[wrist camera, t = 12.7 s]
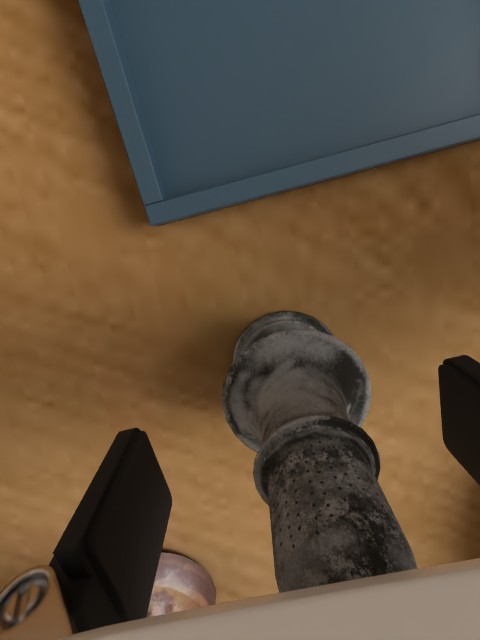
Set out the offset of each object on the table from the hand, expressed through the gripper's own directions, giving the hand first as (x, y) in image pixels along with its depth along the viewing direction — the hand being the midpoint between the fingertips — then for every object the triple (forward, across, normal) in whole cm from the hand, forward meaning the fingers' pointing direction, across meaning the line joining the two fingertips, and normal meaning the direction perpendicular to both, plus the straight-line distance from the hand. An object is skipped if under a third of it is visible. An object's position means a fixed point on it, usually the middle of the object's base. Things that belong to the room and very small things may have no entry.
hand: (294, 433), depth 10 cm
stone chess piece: (+6, 0, +1) cm, 6 cm away
